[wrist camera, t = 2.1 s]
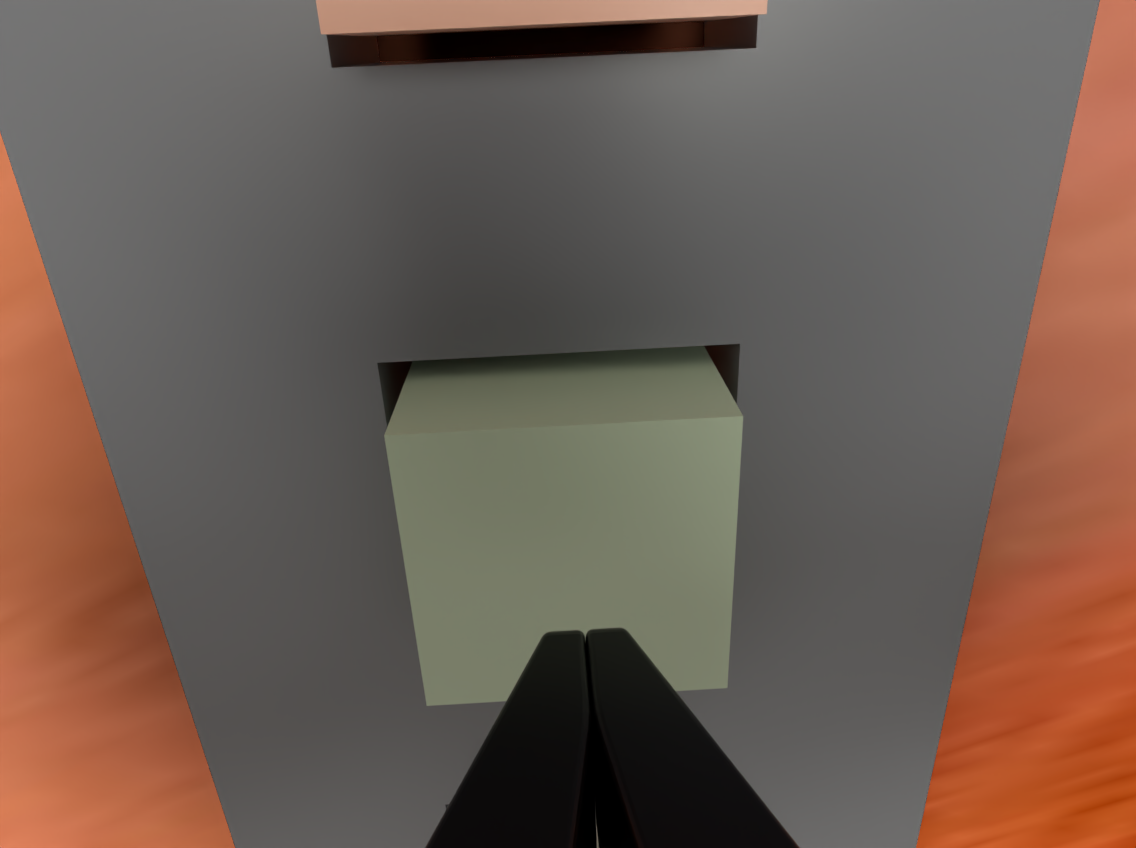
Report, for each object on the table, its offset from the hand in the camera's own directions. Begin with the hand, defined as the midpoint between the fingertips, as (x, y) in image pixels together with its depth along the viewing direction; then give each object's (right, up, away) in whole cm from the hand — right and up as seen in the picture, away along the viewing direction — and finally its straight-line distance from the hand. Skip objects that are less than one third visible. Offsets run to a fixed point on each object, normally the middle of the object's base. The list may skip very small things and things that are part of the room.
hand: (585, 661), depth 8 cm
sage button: (0, +2, +4) cm, 4 cm away
